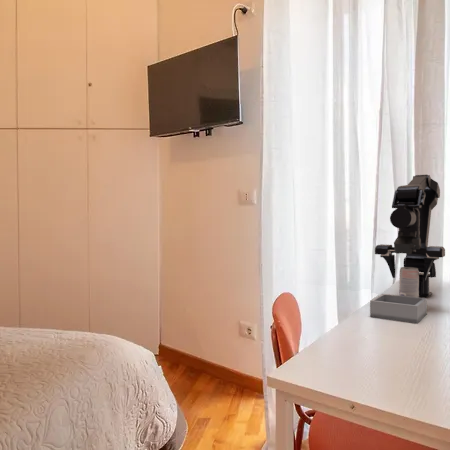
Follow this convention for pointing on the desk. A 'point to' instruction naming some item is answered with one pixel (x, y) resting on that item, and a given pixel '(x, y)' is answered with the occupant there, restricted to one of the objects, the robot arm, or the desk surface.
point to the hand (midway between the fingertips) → (408, 279)
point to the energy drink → (409, 282)
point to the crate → (398, 308)
